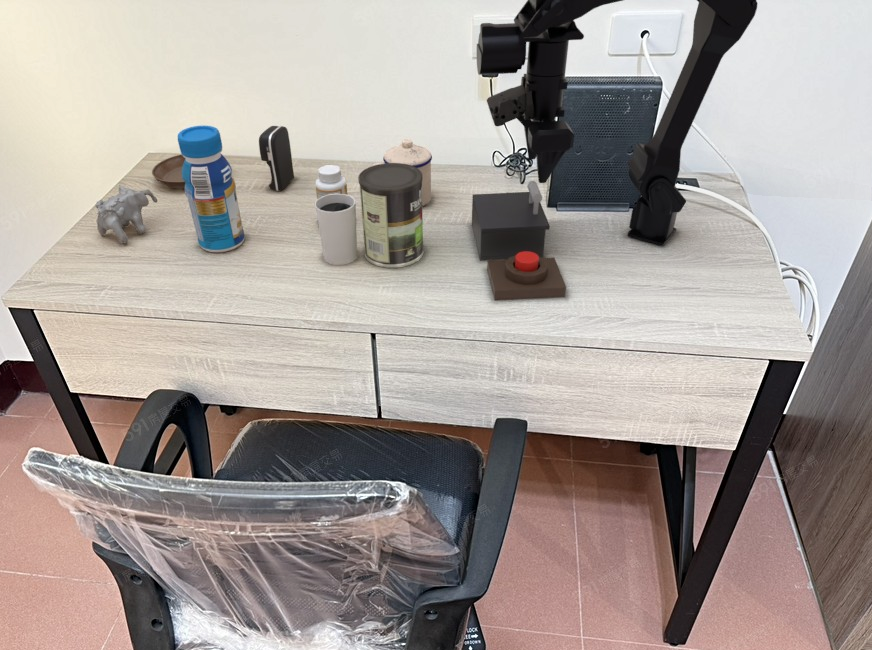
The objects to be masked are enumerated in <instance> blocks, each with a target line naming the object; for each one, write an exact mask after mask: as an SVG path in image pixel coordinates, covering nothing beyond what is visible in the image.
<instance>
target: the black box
mask: <svg viewBox="0 0 872 650" xmlns="http://www.w3.org/2000/svg"><path fill="white" fill-rule="evenodd" d="M471 199H472V201H471V229H472V233H473V237H474V241H475V242H474V243H475V245H476V249H477V254H478V258H479V261H481V262H483V261H484V262H485V261H489V260H508V259H509V258H510V257H513V256H515V255H517V254H518V253H520V252H524V251H529V252H533V253H536V254H537V255H538V256H539V257H541V258H544V251H545V250H544V248H545V240H546V231H547V229H546V230H526V231H505V232H484V233H481V230H480V226H479V222H478V218H477V214H476V210H475V206H474V202H473V198H471Z"/></svg>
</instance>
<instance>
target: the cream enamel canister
mask: <svg viewBox="0 0 872 650" xmlns="http://www.w3.org/2000/svg"><path fill="white" fill-rule="evenodd" d="M383 154H384V155H383V157H382V159H383V160H382V161H381V162H375V163H373V164H372V165H371V166H374V165H379V164H385V163H401V164H407V165H411V166H414V167H416V168H418V169H419V170H420V171H421V172H422V175H423V179H422V207H424V206H426V205H427V204H429V203H430V202H431V199H432V160H433V156H432V152H431V151H430V149H428V148H426V147H424V146H421V145H417V144H414V142H413V140H411V139H403V140H402V141H401V144H399V145H397V146H393V147H391V148H389V149H387V150H386V151H385V152H384V153H383Z"/></svg>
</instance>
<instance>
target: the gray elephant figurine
mask: <svg viewBox="0 0 872 650" xmlns="http://www.w3.org/2000/svg"><path fill="white" fill-rule="evenodd" d="M118 192H119V193H118V194H115V195H112V196H111V197H108V199H107V200H102V199H99V200H97V201H96V203H95V208H96V209H97V217H96V226H97V232H98V233H99V234H100V235H101V236H104V235H106V233H107V231H112V232H113V233H114V234H115V236H116V237H117V239H118V241H119V242H120V243H121V244H126V243H127V242H128V240H129V237H128V235H127V234H126V232H125V231H124V229H123V228H127V227H129V226H130V225H133V226H134V228H135V229H136V231H137V233H138V234H139V235H143V234H145V233H146V231H147V229H146V226H145V224H144V218H143V214H142V209H143V207H148V205H149V203H150V202H149V198H148V197H147V196H149V197H150V198H151V200H152V201H153V203H157V204H158V198H157V196H155V195H154V193H153V192H152V191H151V190H150V189H143V190H135V189H131V188H130V187H125V186H122V185H118Z"/></svg>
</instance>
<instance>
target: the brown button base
mask: <svg viewBox="0 0 872 650" xmlns="http://www.w3.org/2000/svg"><path fill="white" fill-rule="evenodd" d="M515 258H516V255H515V256H513V257H510V258H509V259H506V260H486V262H487V263H486V264H487V265H486V272H487V276H488V280H489V284H490V289H491V292H492V296H493V300H494V301H515V300H533V299H534V300H535V299H536V300H537V299H553V298H554V299H556V298H565V297H566V293H567V286H566V282H565V280H564V277H563V275H562V273H561V270H560V267H559V265H558V263H557V260H556V257H553V256H551V257H543V258H541V257H539V262H538V268H537V270H535V271H533V272H524V271H519V270H517V269H516V268H515Z"/></svg>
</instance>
